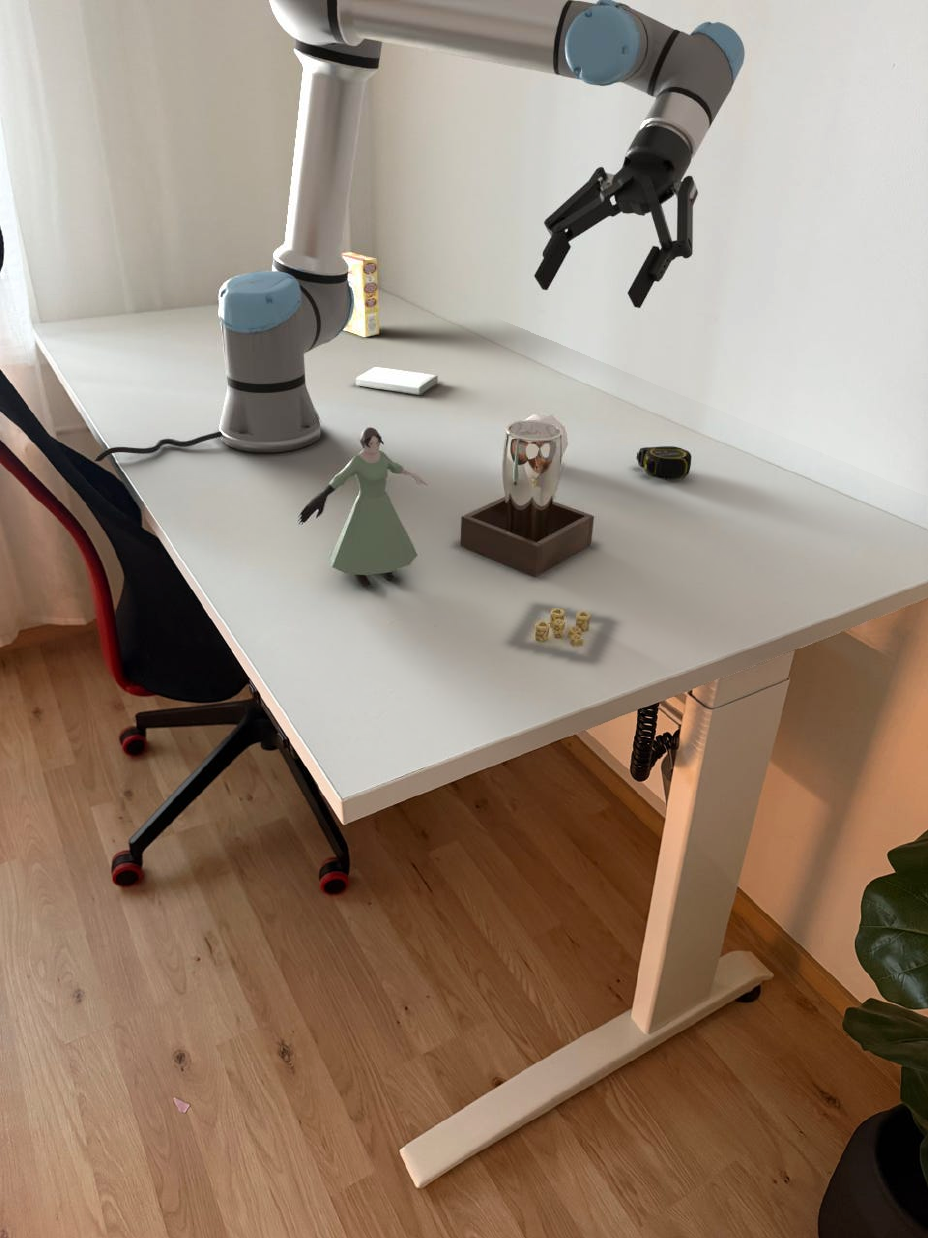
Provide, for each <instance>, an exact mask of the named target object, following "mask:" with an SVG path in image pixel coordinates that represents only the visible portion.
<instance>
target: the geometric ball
mask: <svg viewBox="0 0 928 1238" xmlns="http://www.w3.org/2000/svg"><path fill="white" fill-rule="evenodd" d="M524 420H537V421H544V422H549V423H552V424H555V425H557V426H559V427H560V428H561V429H562V457H563V456H564V454H565V452H566V450H567V448H568V445H569V442H568V434H567V430H566V427H565V426H564V425H563V424H562V423H561V422H560V421H559V420H558V419H557V418H556V417H555V416H554V415H553V414H552V415H551V414H543V413H534V414H532V415H530V416H528V417H527V418H525V419H524Z"/></svg>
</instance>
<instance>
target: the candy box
mask: <svg viewBox="0 0 928 1238" xmlns="http://www.w3.org/2000/svg"><path fill="white" fill-rule="evenodd" d="M341 254H342V256H343V258H344V259H345V260H346V262H347V263H348V265H349V274H348V282H349V284H350V286H351V287H352V289H353V293H354V311H353V315H352V318H351V320H350V322H349V324H348V325H347V326H346V328H345V329H344V330H343V331H346V332H349V333H352V334H354V335H355V334H356V335H358V336H360V337H363V338H367V337H371V336H377V335H379V334H380V315H379V314H380V313H379V284H378V283H379V282H378V281H379V279H378V276H379V275H378V258H375V257H371V256H367V255H363V254H359V253H354V252H342V253H341Z"/></svg>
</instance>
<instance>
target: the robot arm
mask: <svg viewBox="0 0 928 1238" xmlns="http://www.w3.org/2000/svg"><path fill="white" fill-rule="evenodd" d="M269 4H270V7H271V11H272V13H273V15H274V16H275V18H276V20H277V22H278V23H279V24H280V26H281V27H282V29H283V30H285V32H287V33H288V34H289V35H290V36H291V37H293V38H294V48H293V52H294V53H295V55H296V56H297V58H298V59H299V61H300V63H301V64H302V67H303V70H302V79H301V89H300V98H299V108H298V117H297V119H298V120H297V127H296V136H295V137H296V138H295V146H294V155H293V166H292V175H291V184H290V192H289V193H290V194H289V202H288V204H289V205H288V213H287V223H286V231H285V241H284V243H283V244H282V245H281V246H280V247H278V248H277V249H275V251H274V252H273V258H272V267H271V270H258V271H252V272H251V273H242V274H239V275H236V276H233V277H231V278H230V279H228V280H226V281H225V282H224V283H223V285H222V286H221V287H220V289H219V293H218V305H219V306H218V318H219V322H220V329H221V337H222V347H223V357H224V365H225V374H226V375H225V376H226V385H227V390H226V395H225V399H224V404H223V408H222V413H221V417H220V422H219V430H218V431H215V432H211V433H208V434H205V435H201V436H197V437H195V438H192V439H190V440H178V439H174V438H161V439H159V440H158V441H156V442H155V443H154V444H153V445H152V446H149V447H133V446H112V447H108V448H106V449H104V450H102V451H101V452H100V453H99V454H98V455H97V456H96V457H95V458H94V462H101V461H103V460H104V459H105V458H106V457H108V456H109V455H112V454H117V453H126V454H137V455H145V454H146V455H147V454H153V453H155V452H157V451H158V450H160V449H161V447H162V446H164V445H172V446H175V447H181V448H185V447H191V446H192V447H193V446H195V445H197V444H201V443H203V442H207V441H210V440H214V439H218V438H220V441H222V443H223V444H224V445H226V446H228V447H229V448H232V449H235V450H238V451H244V452H248V453H249V452H250V453H261V454H262V453H263V454H264V453H265V454H266V453H267V454H269V453H270V454H271V453H272V454H273V453H282V452H283V453H284V452H289V451H295V450H299V449H302V448H305V447H308V446H310V445H312V444H314V443H315V442H316V441H318V440H319V439H320V436H321V424H322V421H321V418H320V416H319V413H318V412H317V410H316V408H315V405H314V403H313V401H312V399H311V396H310V392H309V391H308V387H307V383H306V367H305V366H306V363H305V354H306V353H308V352H311V351H312V350H314V349H316V348H318V347H319V346H323V345H325V344H327V343H329V342H331V341H332V340H334V339H335V338H337V337H338V336H339V335H340V334H341V333H342V332H343V331H345V330H344V329H345V328H346V326H347V325H348V324H349V322H350V320H351V318H352V315H353V311H354V293H353V289H352V287H351V286H350V284H349V282H348V274H349V265H348V263H347V262H346V260H345V259H344V258H343V256H342V254H343V244H344V237H345V229H346V224H347V223H346V222H347V216H348V208H349V202H350V194H351V187H352V179H353V174H354V173H353V172H354V165H355V157H356V151H357V145H358V136H359V129H360V122H361V114H362V107H363V99H364V93H365V85H366V82H367V80H368V79H370V78H371V77H372V76H373V75H374V74H376V73H378V71H379V67H380V59H381V54H382V47H383V43H388V44H392V45H397V46H403V47H408V48H413V49H419V50H423V51H424V50H425V51H429V52H430V51H431V52H435V53H440V54H446V55H450V56H456V57H461V58H466V59H472V60H477V61H483V62H487V63H493V64H497V65H505V66H509V67H514V68H520V69H525V70H529V71H535V72H541V73H546V74H551V75H556V76H561V77H565V78H570V79H573V80H578V81H579V80H580V81H582V82H584V83H585V84H588V85H592V86H599V87H607V86H611V85H613V84H618V83H622V84H624V85H626V86H629V87H630V88H634V89H636V90H638V91H640V92H642V93H644V94H647V95H648V96H650V97H652V98H655V100H654V101H653V104H652V105H651V107H650V108H649V111H648V113H646V116H645V117H644V119H643V121H642V123H641V125H640V127H639V130H638V131H637V133H636V134H635V136H634V138H633V139H632V142H631V143H630V145H629V147H628V149H627V151H626V153H625V154H624V155H625V156H624V160H623V163H622V167H621V168H620V169H619V170H618V171H617V172H616V173H615V174H613V173H609V172H606V170H605V168H604V167H603V166H599V167H597V168H596V169H595V171H594V172H593V173H592V175H591V176H590V178H589V179H588V181H587V182H585V183H584V184H583V185H582V186H581V187H580V188H579V189H578V190H577V191H576V192H575V193H573V194H571V196H570V197H569V198H567V200H566V201H564V202H563V203H562V204H561V205H560V206H559V207H558V208H557V209H556V210H554V212H552V213H551V214H550V215H549V216H548V217H546V219H545V220H544V222H543V224H544V226H545V228H546V230H547V232H548V233H549V235H550V238H549V240H548V242H547V244H546V246H545V248H544V249H543V251H542V257H543V259H542V260H541V262H540V264H539V266H538V268H537V269H536V270H535V273H534V274H533V277H534V278H535V280H536V282H537V283H538V284H539V287H540V288H541V290H543V291H548V289H549V288H550V286H551V284H552V282H553V281H554V279H555V277H556V275H557V273H558V272H559V270H560V268H561V266H562V265H563V262H564V261H565V259H566V257H567V255H568V253H569V252H570V250H571V248H572V246H571V244H570V242H571V241H573V240H574V239H575V238H577V237H579V236H580V235H582V234H583V233H585V232H587V231H589V229H591V228H593V227H594V226H596V225H598V224H599V223H600V222H602V221H604V220H605V219H607V218H609V217H611V218H612V217H617V215H619V214H621V213H622V214H625V215H626V214H627V215H631V214H635V215H637V216H642V217H645V215H647V214H649V213H650V214H651V218H652V222H653V224H654V227H655V228H654V229H655V231H656V234H657V238H658V242H659V244H660V247H661V248H660V247H659V246H658V245H652V247H651V249H650V251H649V252H648V254H647V256H646V258H645V259H644V261H643V263H642V265H641V266H640V269H639V270H638V273H637V274H636V275H635V278H634V280H633V282H632V284H631V286H630V287H629V288H628V289H629V290H628V291H627V296H628V297H629V299H630V302H631V303H632V305H633V308H636V309H637V308H638V309H641V307H642V306H643V303H644V302H645V300H646V298H647V296H648V295H649V293H650V291H651V289H652V287H653V285H654V283H655V282H660V281H662V279H663V278H664V276H665V274H666V273H667V270H668V268H669V267H670V264H671V262H672V261H674V260H675V259H676V258H681V257H682V258H683V259H689V258H691V257H692V255H693V253H694V252H693V251H694V249H693V247H694V240H693V239H694V236H693V235H694V233H693V232H694V204H695V202H696V200H697V197H698V195H699V191H698V189H697V185H696V183H695V180H694V177H693V176H692V175H687V176H685V174H686V173H687V171H688V169H689V167H690V165H691V162H692V159H693V158H695V155H696V153H697V152H698V149H699V148H700V146H701V144H702V142H703V140H704V139H705V137H706V135H707V133H708V131H709V130H710V128H711V126H712V124H713V122H714V121H715V119H716V117H717V116H718V113H719V112H720V110H721V108H722V106H723V104H724V103H725V101H726V99H727V97H728V95H729V94H730V93H731V91H732V88H733V85H734V84H735V81H736V80H737V77H738V75H739V73H740V71H741V69H742V67H743V65H744V60H745V56H746V55H745V54H746V52H745V51H746V50H745V45H744V44H743V43H744V42H743V41H742V39H741V37H740V35H739V34H738V32H737V31H735V29H733V28H732V27H731V26H729V25H728V24H726V23H723V22H720V21H716V22H711V21H704V22H702V23H701V24H699V25H697V26H696V27H695V28H694V29H693V31H692V32H690V33H686V32H684V31H681V30H680V29H675V28H672V27H670V26H669V25H667V24H665V23H663V22H661V21H659V20H657V19H654V18H653V17H650V16H649V15H647V14H644V13H642V12H640V11H638V10H636V9H634V8H633V7H630V6H629V5H627V4H625V3H622V2H617V1H615V0H597V1H596V2H595V3H594V2H587V1H582V0H269ZM684 176H685V177H684ZM674 196H675V197H676V199H677V201H676V202H677V203H676V204H677V205H676V206H677V207H676V215H677V216H676V239H675V240H673V238H672V235H671V232H670V229H669V226H668V223H667V219H666V215H665V211H664V208H663V204H664V203H665V202H667V201H668V200H670V199H672V197H674ZM613 197H614V202H615V204H613V203H612V201H611V198H613ZM566 230H567V231H566Z"/></svg>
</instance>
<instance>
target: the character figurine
mask: <svg viewBox="0 0 928 1238" xmlns="http://www.w3.org/2000/svg"><path fill="white" fill-rule="evenodd" d="M359 442H360V445H361V446H362V450H361V451H360V452H359V453H358V454H356V455H355V456H353V457H352V459H351V460H349V462H348V463H347V464H346V465H345V467H344V468H343V469H342V470H341V471H339V472H338V473H337V474H336V475H335V476H334V477H333V478H332V479H331V481H330V482H329V483H328V485H327V486H326V487H325V488H324V489H323V491H321V492H319V493H318V494H316V495H315V496H314V497H313V498H312V499H311V500H310V501H309V502H308V503H307V504H306V505H305V506H304V508H303V509H302V510H301V512H300V514H299V515H298V517H297V518H298V520H297V522H298V525H300V526H302V525H303V524H304V523H306V522H307V521H308V520H309V519H310V518H311V516H312V515H314V514H315V512H317V510H318V512H317V514H316V516H315V519H318V518H319V517H320V516H321V515H322V514H323V512H324V509H325V505H326V503H327V500H328V496H330V495H331V494H332V493H334V492H335V491H336V490H338V489H339V488H340V487H342V486H344V485H345V484H346V483H347V481H348V480H349V479H350V478H351V477H353V476H354V475H355V479H356V480H357V483H358V488H359V492H358V495H357V496H356V498H355V500H354V502H353V505H352V508H351V510H350V512H349V515H348V517H347V519H346V521H345V523H344V526H343V528H342V531H340V532H341V533H340V535H339V537H338V539H337V542H336V544H335V546H334V548H333V550H332V552H331V555H330V558H329V559H330V560H329V561H330V564H331V568H333V569H335V570H337V571H339V572H342V573H344V574H346V575H353V578H354V580H355V581H356V582H357V583H358V585H360V586H363V587H369V586H370V585H371V582H370V580H369V578H368V576H373V575H380V576H382V577H383V578H384V579H386V580H387V581H393V580H394V579H395V577H394V574H393V572H394V571H397V570H400V569H402V568H404V567H407V566H409V565H411V564H412V562H414V560H415V559H416V558H417V557H418V552H417V550H416V548H415V545H414V543H413V542H412V540H411V538H410V535H409V533H408V532H407V530H406V528H405V526H404V524H403V523H402V520H401V518H400V517H399V514H398V512H397V510H396V508H395V506H394V504H393V502H392V500H391V497H390V495H389V493H388V492H387V491H386V487H387V479H388V476H389V471H390V472H391V473H392V474H396V475H401V474H402V475H405V476H406V475H407V476H410V477H411V478H412V479H413V480H414V481H415V482H416V484H418V485H420V486H421V484H423V485H424V486H425V487H426V486H428V484H427V482H426V481H425V480H424V479H422V478H421V477H420V476H419V475H418V474H416V473H414V472H411V471H410V470H407V468H405V467H404V466H402V465H401V464H400V463H398V462H395V461H393V460H392V459H391V458H390V457H389V456H388V455H387V454H386V453H385V452H384V451H383V450H380V446H381V444H382V445H385V444H384V441H383V439H382V436H381V434H380V433H379V432H378V430H377V429H376V428H375V427H371V426H369V427H365V429H363V430H362V432H361V434H360V438H359Z"/></svg>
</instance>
